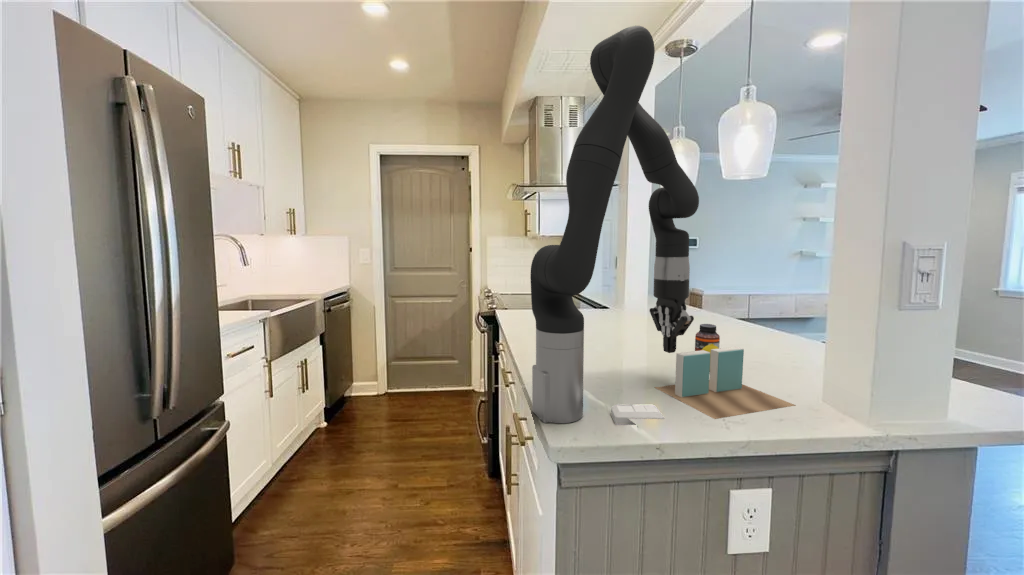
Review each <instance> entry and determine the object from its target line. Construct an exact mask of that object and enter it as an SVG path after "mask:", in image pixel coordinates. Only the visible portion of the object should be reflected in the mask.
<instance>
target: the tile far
mask: <svg viewBox="0 0 1024 575" xmlns="http://www.w3.org/2000/svg"><path fill="white" fill-rule="evenodd" d="M744 352H745V350H744V348H742V347H739V346H731V347H721V348H720V347H719V349H711V358H710V372H709V390H712V391H714V392H722V391H729V390H736V389H741V388H742V384H743V373H744V372H743V370H744V356H745V355H744Z"/></svg>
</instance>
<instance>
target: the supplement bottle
mask: <svg viewBox="0 0 1024 575" xmlns="http://www.w3.org/2000/svg"><path fill="white" fill-rule="evenodd" d="M716 325H717V324H716ZM716 325H715V324H711V323H701V324H699V330H698V331H697V332H696V333H695V339H694V340H695V341H694V351H701V350H702V349H703V348H704V347H705V346H707V345H710V344H714V345H715V346H717V347H718V348H720V339H721V336H720V334H719V333H718V332H717V326H716Z"/></svg>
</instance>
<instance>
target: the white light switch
mask: <svg viewBox="0 0 1024 575" xmlns="http://www.w3.org/2000/svg"><path fill="white" fill-rule="evenodd" d="M610 415H611V416H610V417H612V420H613V423H614V424H616V426H617V425H619V426H621V425H623V426H632V425H633V426H636V425H637V423H635V422H633V421H632V420H631V419H635V420H641V419H642V420H647V419H648V420H649V419H650V420H665V416H664V414H663V413H662V412H661V411H660V409H659V408H658V407H657V406H656V405H655V404H650V403H649V404H646V403H645V404H640V403H638V404H637V403H635V404H633V403H632V404H631V403H615V404H613V405H612V406H610Z"/></svg>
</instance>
